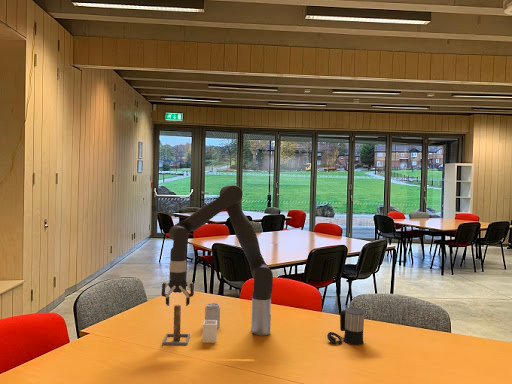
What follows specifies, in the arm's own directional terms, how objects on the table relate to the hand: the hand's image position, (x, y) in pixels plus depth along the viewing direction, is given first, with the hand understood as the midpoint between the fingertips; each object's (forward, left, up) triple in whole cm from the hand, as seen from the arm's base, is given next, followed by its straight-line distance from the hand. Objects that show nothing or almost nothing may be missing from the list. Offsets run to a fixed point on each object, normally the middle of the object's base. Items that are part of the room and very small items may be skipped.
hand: (177, 305), depth 200 cm
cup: (-15, -1, -17) cm, 23 cm away
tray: (0, 0, -17) cm, 17 cm away
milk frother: (-78, -4, -17) cm, 80 cm away
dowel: (0, 0, -16) cm, 16 cm away
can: (-15, -19, -17) cm, 30 cm away
